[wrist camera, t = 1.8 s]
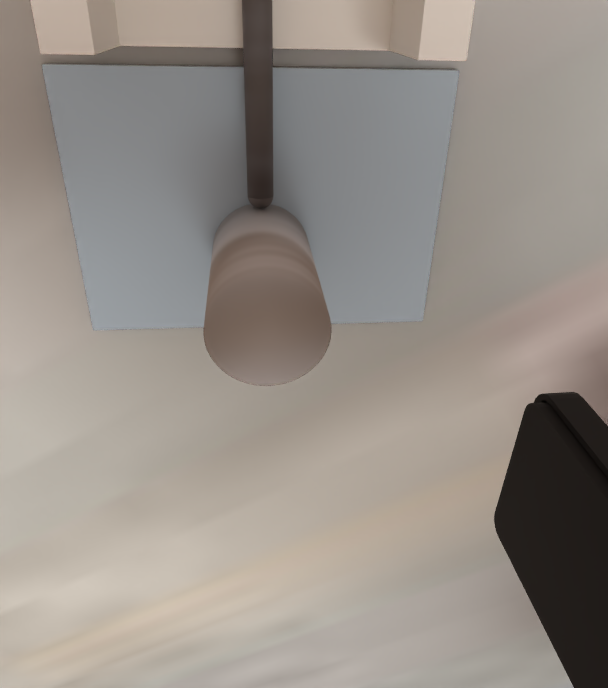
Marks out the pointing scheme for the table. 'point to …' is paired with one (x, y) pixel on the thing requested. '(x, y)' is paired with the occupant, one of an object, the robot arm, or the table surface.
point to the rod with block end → (263, 251)
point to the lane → (287, 20)
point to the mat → (231, 181)
